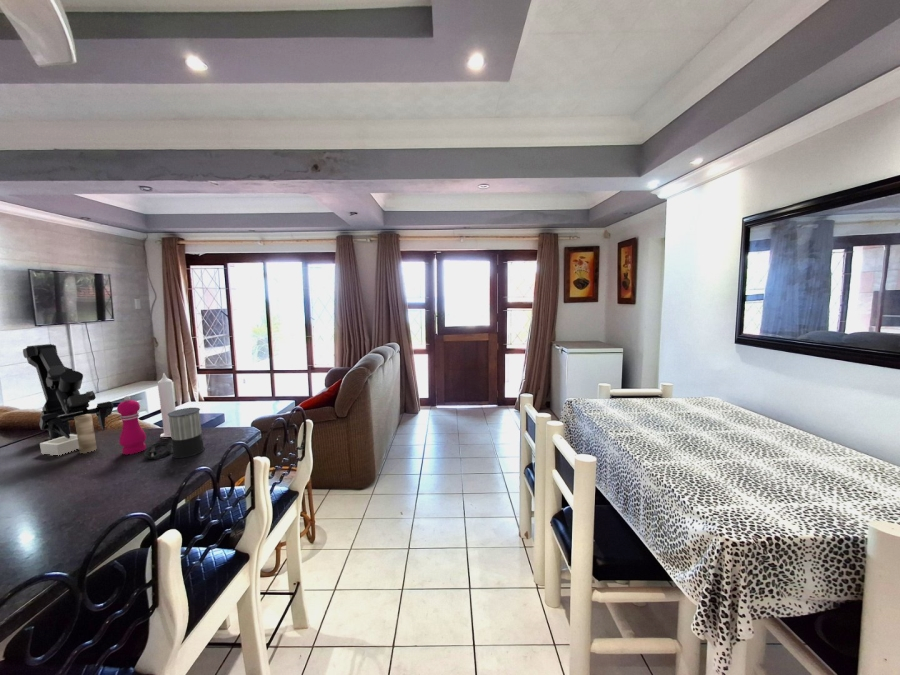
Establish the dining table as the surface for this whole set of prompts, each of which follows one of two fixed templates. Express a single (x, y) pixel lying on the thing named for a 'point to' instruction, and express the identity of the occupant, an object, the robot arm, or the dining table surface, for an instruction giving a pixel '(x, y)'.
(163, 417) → the candle
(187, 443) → the milk frother
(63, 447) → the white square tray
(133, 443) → the pepper mill
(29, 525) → the dining table surface
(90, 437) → the birch peg
